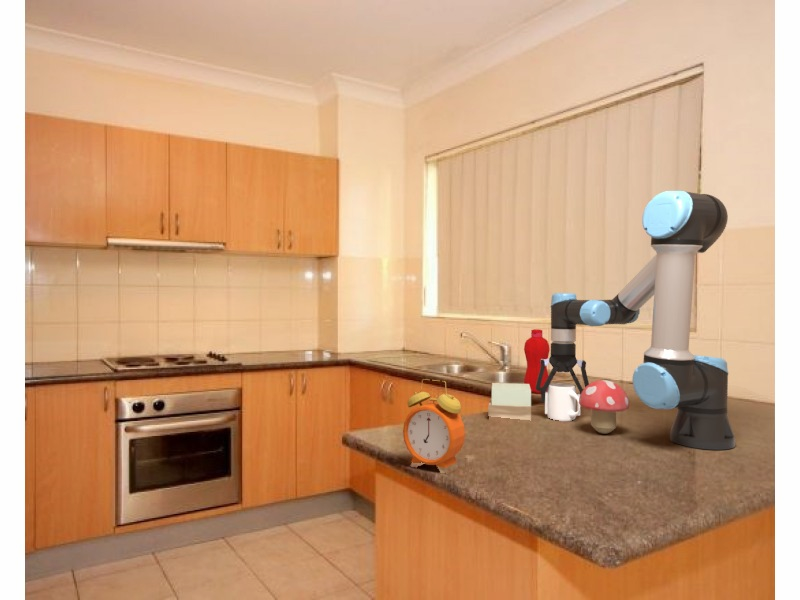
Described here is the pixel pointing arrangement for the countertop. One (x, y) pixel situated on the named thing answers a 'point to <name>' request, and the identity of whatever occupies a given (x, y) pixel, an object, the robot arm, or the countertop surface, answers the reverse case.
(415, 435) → the alarm clock
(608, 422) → the decorative mushroom
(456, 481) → the countertop surface
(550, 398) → the mug
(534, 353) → the water bottle
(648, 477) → the countertop surface
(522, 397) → the tower top
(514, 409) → the tower base
